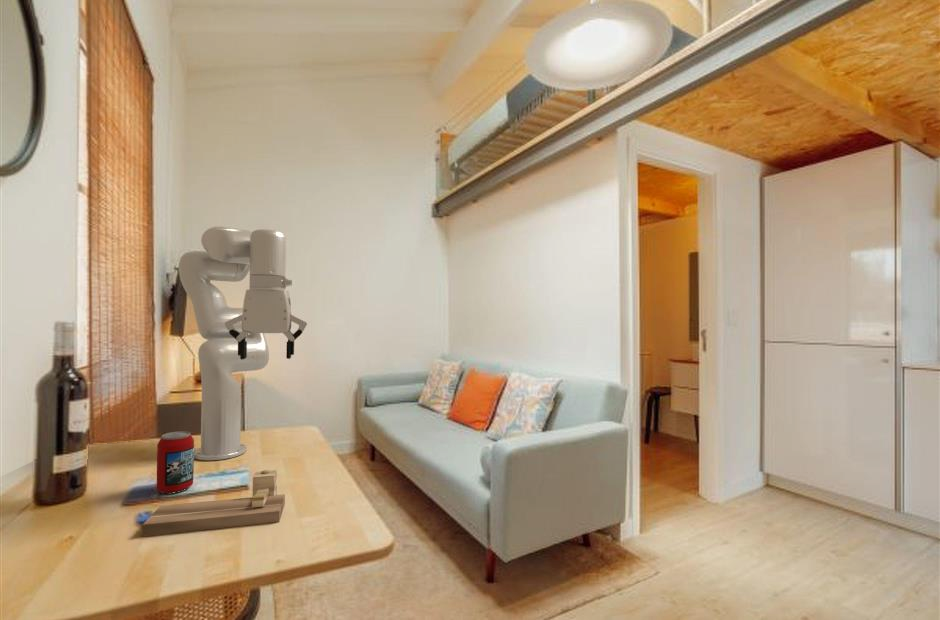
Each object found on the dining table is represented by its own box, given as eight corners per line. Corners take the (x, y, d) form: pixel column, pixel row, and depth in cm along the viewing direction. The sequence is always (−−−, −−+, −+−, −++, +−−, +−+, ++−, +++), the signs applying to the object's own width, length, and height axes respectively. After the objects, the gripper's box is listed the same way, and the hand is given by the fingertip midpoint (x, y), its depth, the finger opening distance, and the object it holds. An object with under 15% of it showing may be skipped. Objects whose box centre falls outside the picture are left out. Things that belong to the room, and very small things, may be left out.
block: (256, 499, 93) (256, 468, 93) (276, 497, 94) (277, 467, 95) (245, 520, 84) (246, 486, 84) (269, 518, 85) (269, 484, 85)
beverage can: (175, 497, 94) (176, 439, 94) (148, 494, 95) (149, 437, 95) (200, 485, 101) (201, 431, 101) (175, 482, 102) (176, 429, 102)
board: (160, 516, 85) (160, 505, 85) (284, 504, 91) (284, 494, 91) (142, 536, 77) (142, 524, 77) (279, 521, 83) (279, 510, 83)
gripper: (308, 286, 109) (307, 356, 109) (230, 284, 105) (228, 357, 104) (306, 284, 102) (304, 359, 102) (221, 282, 97) (220, 360, 97)
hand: (266, 358), depth 103 cm, fingers open, 9 cm apart
